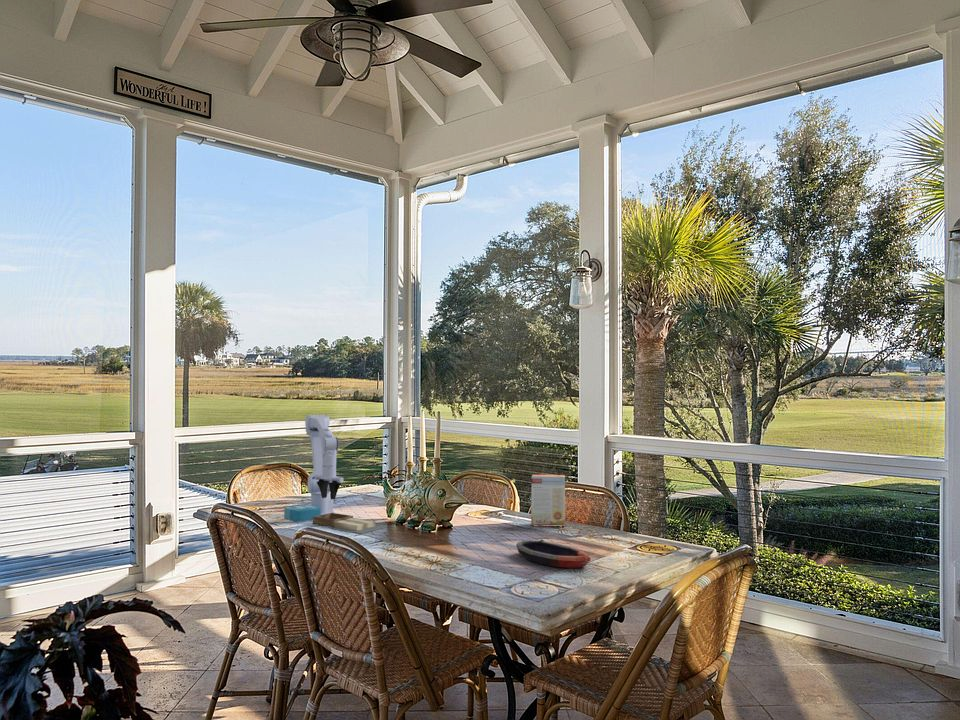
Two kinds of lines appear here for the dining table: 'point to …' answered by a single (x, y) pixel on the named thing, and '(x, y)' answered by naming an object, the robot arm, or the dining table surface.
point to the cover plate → (355, 524)
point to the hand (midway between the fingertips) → (328, 498)
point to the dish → (552, 554)
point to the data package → (301, 512)
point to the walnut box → (329, 519)
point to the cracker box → (548, 500)
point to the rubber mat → (362, 529)
